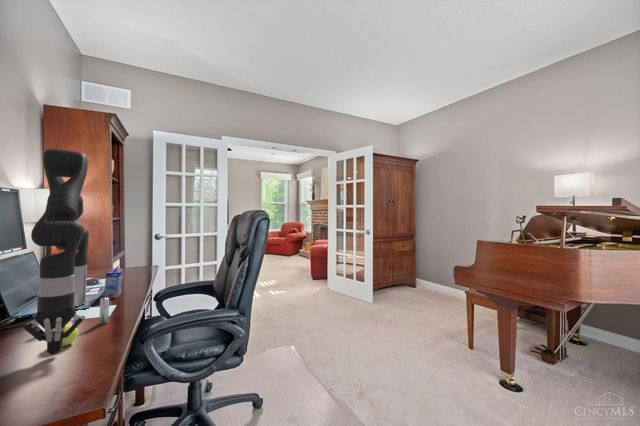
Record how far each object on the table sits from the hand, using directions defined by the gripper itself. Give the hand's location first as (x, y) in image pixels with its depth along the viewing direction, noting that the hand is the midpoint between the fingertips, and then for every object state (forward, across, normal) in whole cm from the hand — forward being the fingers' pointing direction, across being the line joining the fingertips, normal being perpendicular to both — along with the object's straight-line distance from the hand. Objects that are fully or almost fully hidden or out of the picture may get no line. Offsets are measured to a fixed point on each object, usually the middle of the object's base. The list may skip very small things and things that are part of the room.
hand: (54, 353), depth 77 cm
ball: (-2, 0, -8) cm, 8 cm away
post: (+1, -7, -24) cm, 25 cm away
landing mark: (+1, 0, -38) cm, 38 cm away
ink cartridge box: (+2, -3, -62) cm, 62 cm away
